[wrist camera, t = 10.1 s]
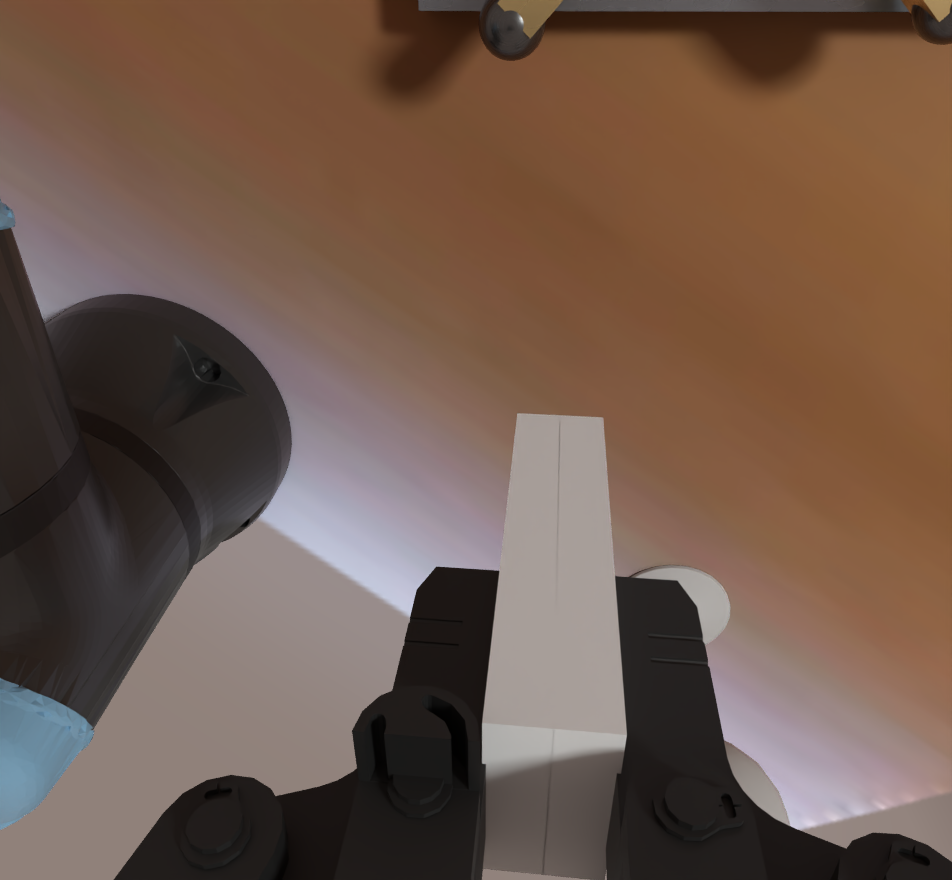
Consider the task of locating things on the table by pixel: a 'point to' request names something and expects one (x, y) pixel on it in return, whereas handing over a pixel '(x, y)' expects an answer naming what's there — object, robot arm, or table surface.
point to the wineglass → (713, 621)
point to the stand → (692, 5)
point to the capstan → (531, 3)
